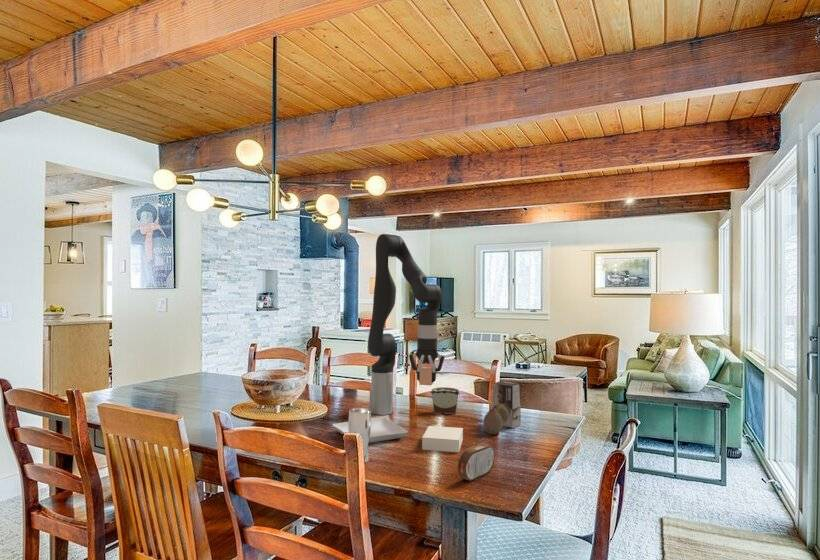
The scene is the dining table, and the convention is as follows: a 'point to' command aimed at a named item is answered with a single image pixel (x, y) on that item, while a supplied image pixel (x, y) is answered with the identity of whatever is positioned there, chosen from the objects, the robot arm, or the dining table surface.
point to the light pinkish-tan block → (425, 376)
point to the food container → (445, 400)
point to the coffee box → (508, 402)
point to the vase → (492, 422)
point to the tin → (476, 461)
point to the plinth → (442, 439)
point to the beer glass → (361, 426)
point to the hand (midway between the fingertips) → (426, 381)
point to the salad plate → (377, 429)
